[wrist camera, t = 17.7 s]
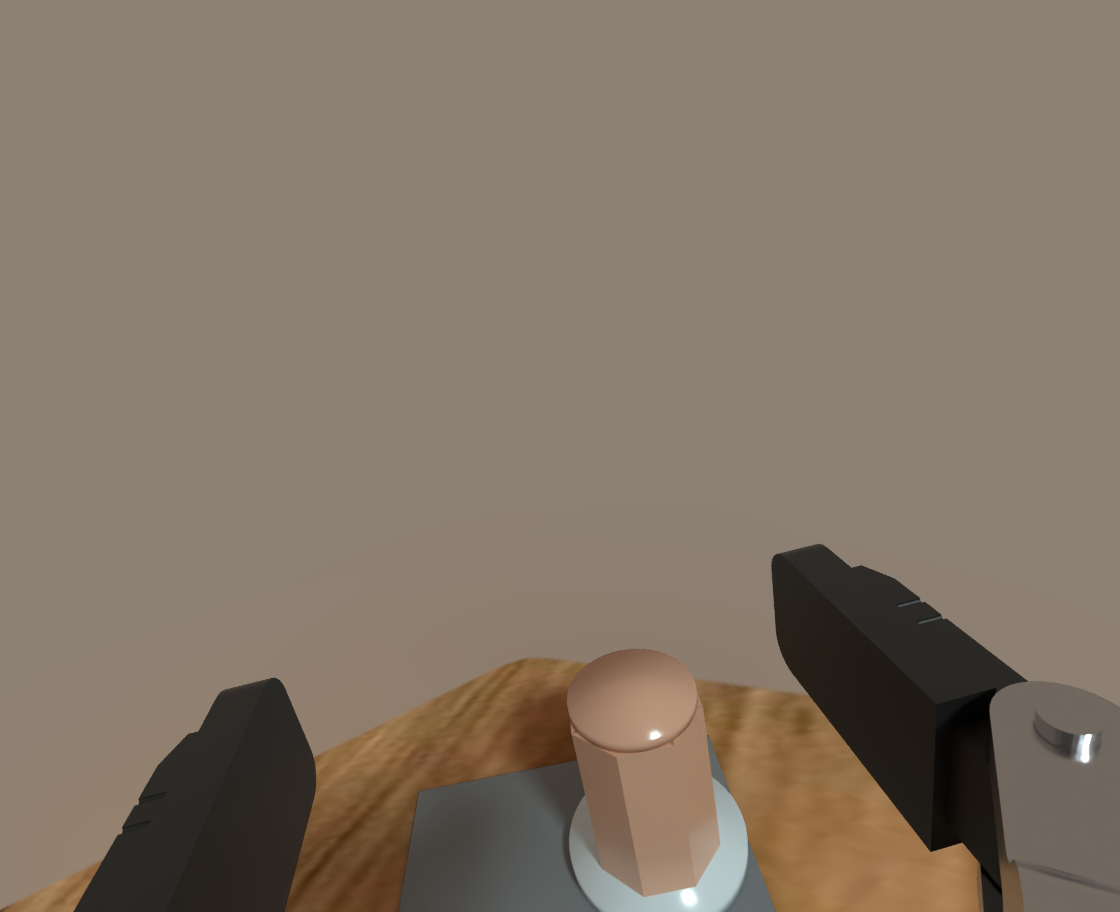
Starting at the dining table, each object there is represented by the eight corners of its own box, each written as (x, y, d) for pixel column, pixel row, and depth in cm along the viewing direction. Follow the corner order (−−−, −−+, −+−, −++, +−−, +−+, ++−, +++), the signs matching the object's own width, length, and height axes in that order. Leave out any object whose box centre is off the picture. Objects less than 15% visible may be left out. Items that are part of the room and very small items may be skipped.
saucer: (581, 957, 31) (577, 944, 30) (565, 787, 40) (562, 776, 40) (778, 918, 31) (776, 904, 30) (716, 758, 40) (715, 746, 40)
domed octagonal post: (607, 905, 32) (573, 756, 28) (591, 795, 38) (561, 662, 35) (732, 879, 32) (713, 727, 28) (696, 774, 38) (677, 639, 35)
